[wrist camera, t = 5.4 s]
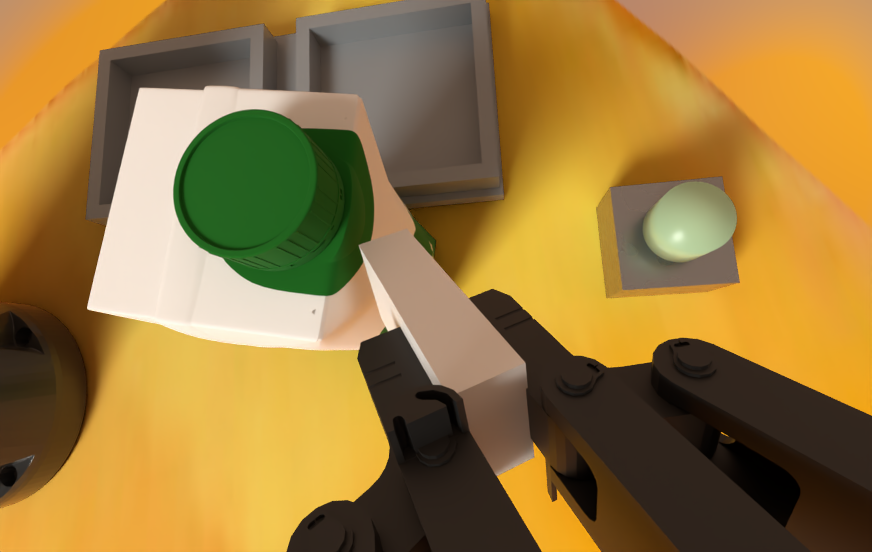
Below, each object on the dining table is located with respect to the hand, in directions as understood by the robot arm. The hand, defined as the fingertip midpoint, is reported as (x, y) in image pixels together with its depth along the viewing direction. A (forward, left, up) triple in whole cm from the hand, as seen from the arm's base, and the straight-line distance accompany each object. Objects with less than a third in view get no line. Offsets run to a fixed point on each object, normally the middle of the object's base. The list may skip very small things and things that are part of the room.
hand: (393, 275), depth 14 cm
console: (+13, +3, -17) cm, 21 cm away
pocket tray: (-11, +15, -17) cm, 25 cm away
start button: (+13, +3, -12) cm, 18 cm away
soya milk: (-5, +2, -17) cm, 18 cm away
